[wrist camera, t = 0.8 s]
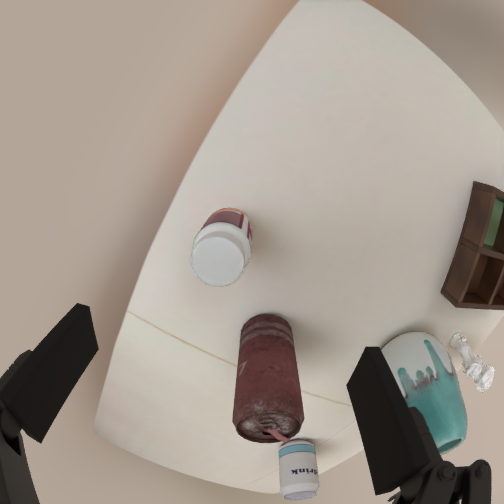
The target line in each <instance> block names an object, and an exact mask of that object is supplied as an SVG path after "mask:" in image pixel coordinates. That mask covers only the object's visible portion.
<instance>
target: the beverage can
mask: <svg viewBox="0 0 504 504" xmlns="http://www.w3.org/2000/svg"><path fill="white" fill-rule="evenodd" d="M279 474H280V491H281V493H282V494H283V495H284V498H285V499H287V500H303V499H308V498H312V497H314V496H315V495H316V492H317V490H318V488H319V476H318V468H317V461H316V453H315V446H314V444H312V443H310V442H307V441H306V440H292V441H289V442H287V443H286V444H285V445H283V446H281V447H280V448H279Z"/></svg>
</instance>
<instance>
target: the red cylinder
mask: <svg viewBox="0 0 504 504" xmlns="http://www.w3.org/2000/svg"><path fill="white" fill-rule="evenodd" d="M303 421H304V412H303V404H302V397H301V390H300V382H299V375H298V368H297V362H296V355H295V348H294V342H293V335H292V330H291V327H290V325H289V324H288V322H286V321H285V320H284V319H282V318H281V317H278V316H275V315H270V314H264V315H258V316H256V317H254V318H252V319H250V320H249V321H248V322H246V323H245V324H244V326H243V328H242V330H241V338H240V348H239V358H238V368H237V378H236V388H235V398H234V409H233V421H232V422H233V424H234V425H235V427H236V431H237V433H238V434H239V435H240V436H241V437H243V438H244V439H247V440H250V441H253V442H258V443H275V442H281V441H283V442H285V441H288V440H290V438H292V437H294V436H295V435H296V434H297V433H298V432H299V431H300V428H301V425H302V423H303Z"/></svg>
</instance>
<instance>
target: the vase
mask: <svg viewBox="0 0 504 504" xmlns="http://www.w3.org/2000/svg"><path fill="white" fill-rule="evenodd" d="M381 351H382V353H383V355H384V357H385V359H386V361H387V363H388V365H389V367H390V369H391V371H392V373H393V375H394V377H395V379H396V382H397V384H398V386H399V388H400V390H401V392H402V394H403V396H404V399H405V401H406V403H407V405H408V407H414V406H415V407H416V408H417V409H418V410H419V411H420V412H421V413H422V414H423V416H424V418H425V421H426V423H427V424H426V425H428V427H429V430H430V433H431V434H432V436H433V439H434V441H435V443H436V446H437V448H438V451H439V453H440V455H443V454H446V453H448V452H450V451H451V450H453V449H455V448H456V447H458V446H459V445H460V444H461V443H462V442H463V441H464V440H465V439H466V432H467V413H466V409H465V405H464V401H463V398H462V395H461V391H460V387H459V382H458V378H457V374H456V370H455V367H454V365H453V362H452V360H451V357H450V355H449V353H448V351H447V350H446V348H445V346H444V345H443V344H442V343H441V342H440V341H439V340H438V339H437V338H435V337H434V336H432V335H430V334H428V333H424V332H409V333H405V334H402V335H400V336H398V337H396V338H394V339H393V340H391V341H390V342H389V343H387V344H386V345H385V346H384V347H383V348H382V349H381Z"/></svg>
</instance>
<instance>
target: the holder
mask: <svg viewBox="0 0 504 504" xmlns="http://www.w3.org/2000/svg"><path fill="white" fill-rule="evenodd" d="M440 293H441V294H443V295H444V296H445V297H446V298H447V299H448V300H449V301H450V302H451V303H452V304H453V305H454V306H455V307H457V308H473V309H491V310H504V192H502V191H501V190H499V189H497V188H495V187H493V186H490V185H486V184H483V183H479V182H476V181H474V183H473V188H472V193H471V197H470V202H469V206H468V210H467V214H466V218H465V222H464V226H463V229H462V233H461V236H460V240H459V243H458V246H457V249H456V252H455V255H454V258H453V261H452V264H451V267H450V269H449V272H448V275H447V277H446V280H445V282H444V285H443V287H442V290H441V292H440Z"/></svg>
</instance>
